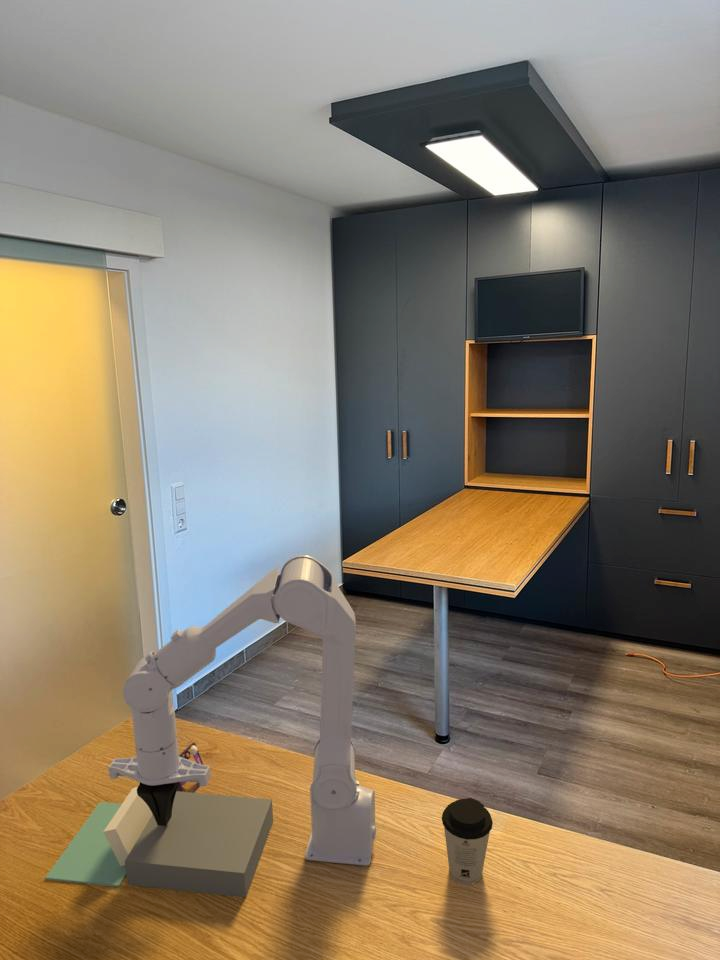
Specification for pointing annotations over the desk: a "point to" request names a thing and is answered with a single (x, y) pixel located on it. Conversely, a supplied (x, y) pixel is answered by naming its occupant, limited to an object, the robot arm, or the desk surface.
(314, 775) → the robot arm
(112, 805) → the mat
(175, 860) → the plate
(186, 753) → the game card
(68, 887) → the desk surface
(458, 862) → the coffee cup
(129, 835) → the beige rectangular block
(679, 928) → the desk surface
